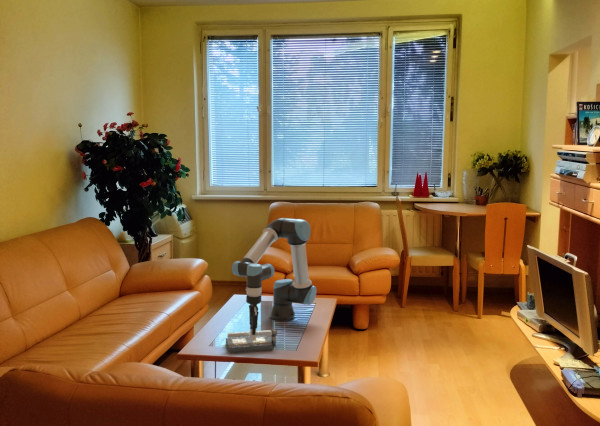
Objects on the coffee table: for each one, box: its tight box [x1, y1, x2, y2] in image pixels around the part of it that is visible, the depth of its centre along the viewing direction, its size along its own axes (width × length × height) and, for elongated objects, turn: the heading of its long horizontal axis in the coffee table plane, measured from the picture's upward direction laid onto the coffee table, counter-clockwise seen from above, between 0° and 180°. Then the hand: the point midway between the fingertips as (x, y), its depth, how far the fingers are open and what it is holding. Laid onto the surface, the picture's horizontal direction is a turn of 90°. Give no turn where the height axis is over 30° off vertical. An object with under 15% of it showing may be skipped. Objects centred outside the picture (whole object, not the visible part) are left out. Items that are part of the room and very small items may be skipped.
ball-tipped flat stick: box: [227, 328, 278, 338], centre depth 277 cm, size 26×3×3 cm, turn 105°
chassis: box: [225, 335, 277, 354], centre depth 277 cm, size 25×14×5 cm, turn 105°
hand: (253, 340), depth 272 cm, fingers closed
